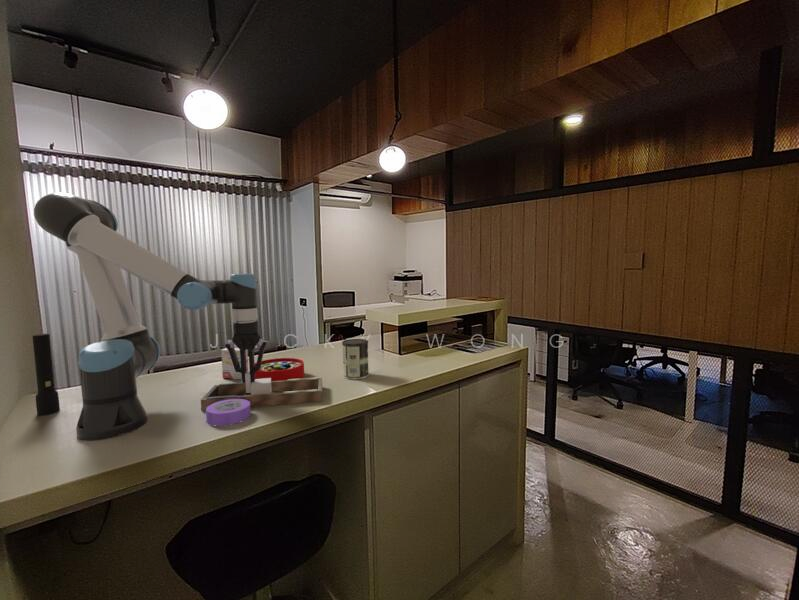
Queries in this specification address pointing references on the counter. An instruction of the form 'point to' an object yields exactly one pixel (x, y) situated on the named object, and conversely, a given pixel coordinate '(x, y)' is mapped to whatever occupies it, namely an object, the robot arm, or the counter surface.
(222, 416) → the masking tape
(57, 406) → the flashlight
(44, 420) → the counter surface
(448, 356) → the counter surface
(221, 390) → the wooden tray
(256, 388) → the white cube
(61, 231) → the robot arm
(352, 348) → the coffee can
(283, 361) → the toy clock
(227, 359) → the ink cartridge box
